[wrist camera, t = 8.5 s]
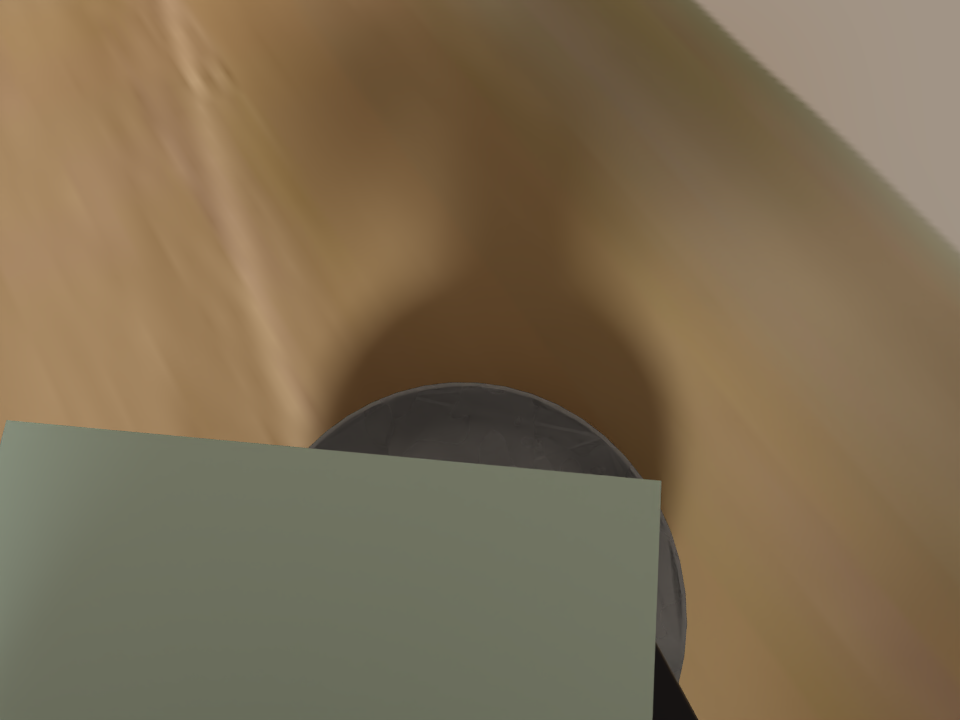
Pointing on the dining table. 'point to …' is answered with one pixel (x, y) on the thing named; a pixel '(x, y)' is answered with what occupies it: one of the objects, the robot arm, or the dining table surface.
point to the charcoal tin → (508, 458)
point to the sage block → (316, 584)
